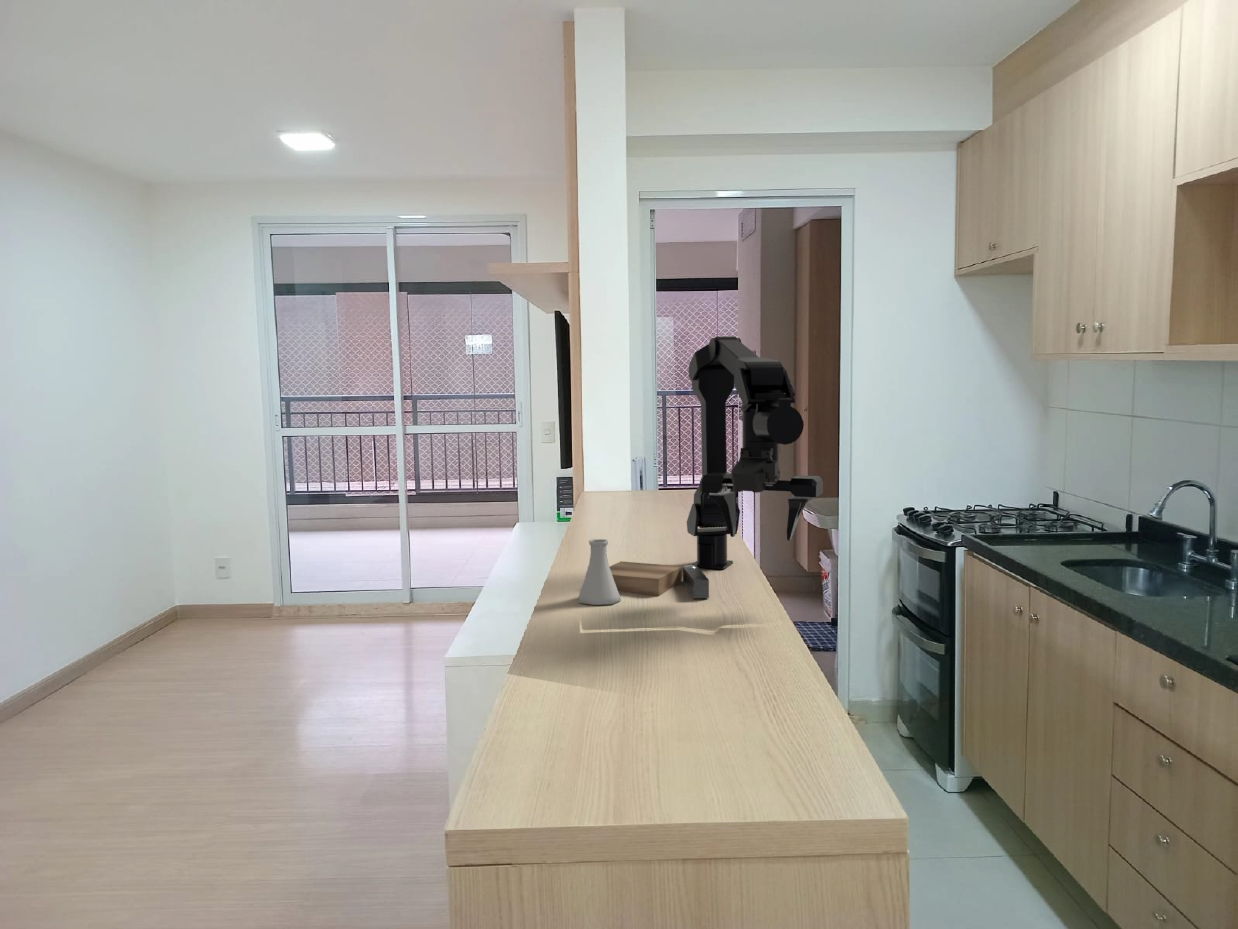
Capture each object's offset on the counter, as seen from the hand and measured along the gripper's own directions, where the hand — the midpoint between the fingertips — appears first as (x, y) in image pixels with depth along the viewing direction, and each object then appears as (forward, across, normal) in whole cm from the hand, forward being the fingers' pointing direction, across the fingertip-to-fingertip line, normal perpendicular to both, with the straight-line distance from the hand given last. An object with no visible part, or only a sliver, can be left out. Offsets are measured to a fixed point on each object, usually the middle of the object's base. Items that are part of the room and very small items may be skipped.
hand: (760, 538), depth 137 cm
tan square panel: (+10, -22, +2) cm, 25 cm away
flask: (+11, -24, -9) cm, 28 cm away
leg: (+10, -15, +7) cm, 19 cm away
